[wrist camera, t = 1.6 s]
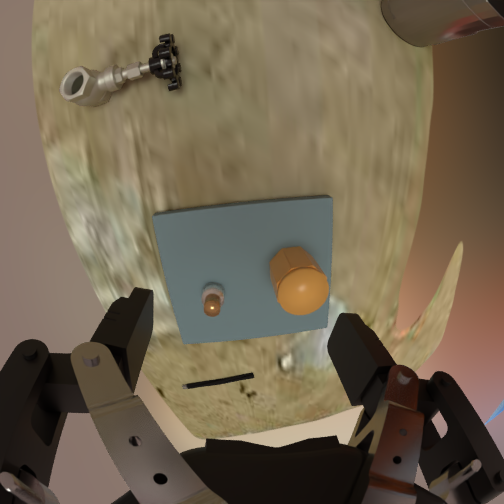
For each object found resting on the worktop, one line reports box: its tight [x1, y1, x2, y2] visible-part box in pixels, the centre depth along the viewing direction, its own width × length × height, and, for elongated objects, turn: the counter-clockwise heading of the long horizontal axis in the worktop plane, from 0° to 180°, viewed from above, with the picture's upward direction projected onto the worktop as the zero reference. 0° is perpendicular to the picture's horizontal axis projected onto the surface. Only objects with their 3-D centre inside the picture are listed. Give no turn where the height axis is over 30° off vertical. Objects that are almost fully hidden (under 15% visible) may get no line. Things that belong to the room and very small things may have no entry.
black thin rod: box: [182, 373, 254, 389], centre depth 40 cm, size 12×1×1 cm, turn 104°
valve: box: [59, 33, 182, 107], centre depth 20 cm, size 7×7×12 cm
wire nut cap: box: [269, 246, 329, 315], centre depth 29 cm, size 5×5×6 cm
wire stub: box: [201, 282, 224, 317], centre depth 30 cm, size 3×3×4 cm
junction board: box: [152, 195, 333, 344], centre depth 33 cm, size 20×18×2 cm
